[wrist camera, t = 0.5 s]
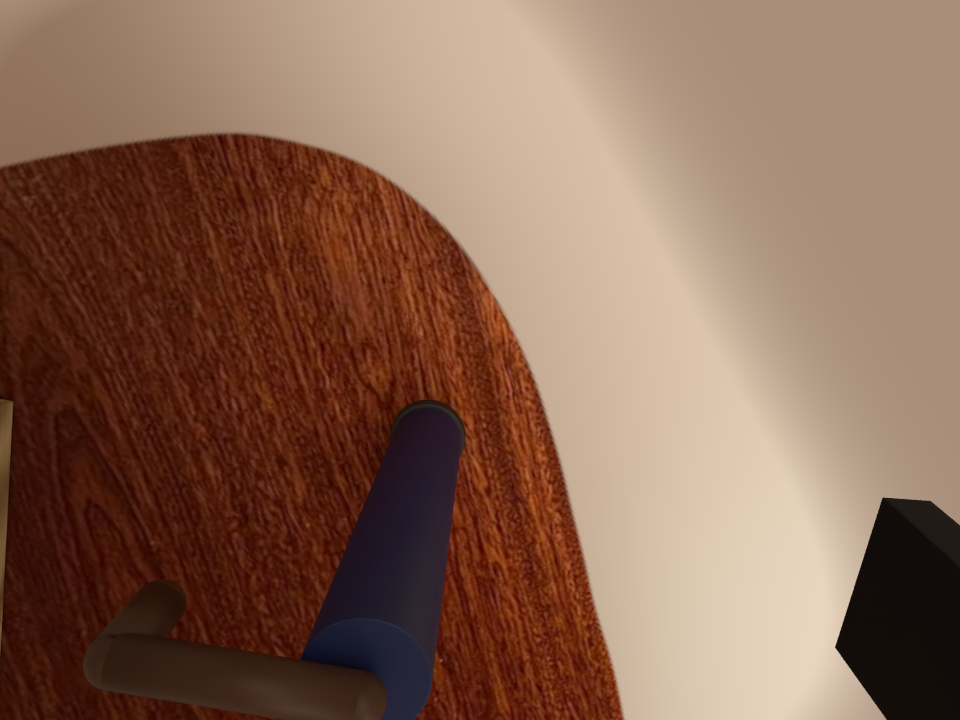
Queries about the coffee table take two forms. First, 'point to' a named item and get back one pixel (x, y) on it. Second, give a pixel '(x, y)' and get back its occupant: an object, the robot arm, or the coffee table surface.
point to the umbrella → (344, 614)
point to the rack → (4, 488)
